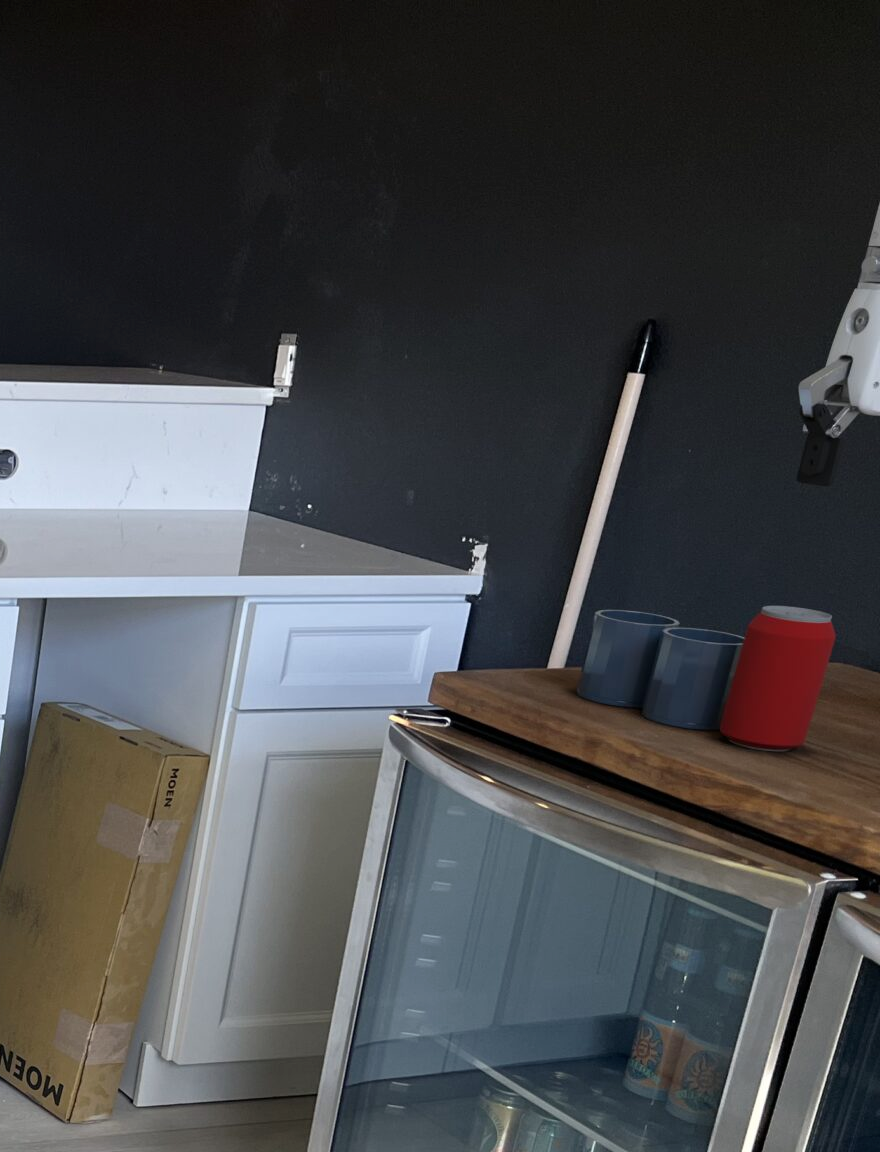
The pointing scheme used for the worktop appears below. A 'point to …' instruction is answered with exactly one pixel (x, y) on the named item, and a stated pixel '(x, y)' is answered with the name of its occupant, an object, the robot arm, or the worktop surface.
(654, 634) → the tumbler far
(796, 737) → the beverage can
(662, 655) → the tumbler mid
